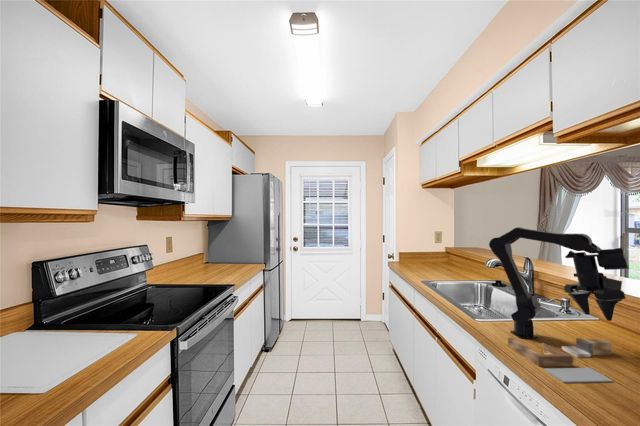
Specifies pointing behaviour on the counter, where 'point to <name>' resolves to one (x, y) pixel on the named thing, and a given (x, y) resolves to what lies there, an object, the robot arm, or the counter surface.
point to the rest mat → (577, 375)
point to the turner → (589, 347)
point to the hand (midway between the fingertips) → (598, 317)
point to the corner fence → (540, 355)
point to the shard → (552, 349)
